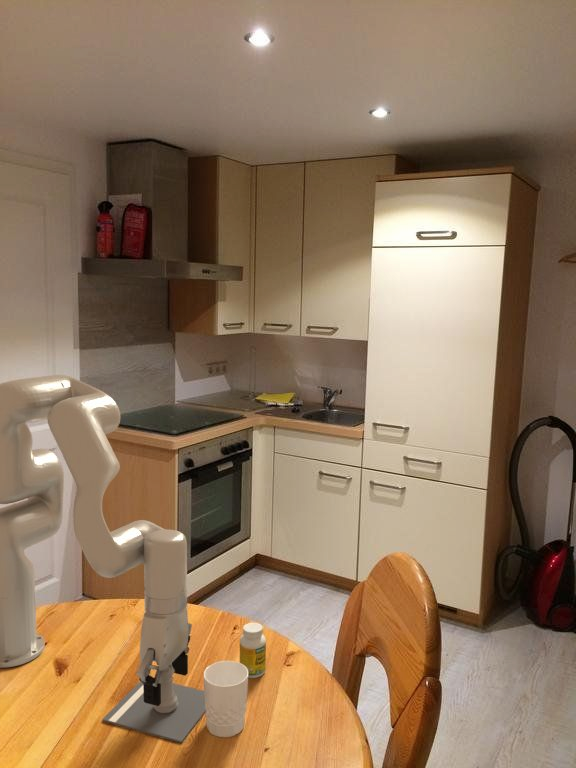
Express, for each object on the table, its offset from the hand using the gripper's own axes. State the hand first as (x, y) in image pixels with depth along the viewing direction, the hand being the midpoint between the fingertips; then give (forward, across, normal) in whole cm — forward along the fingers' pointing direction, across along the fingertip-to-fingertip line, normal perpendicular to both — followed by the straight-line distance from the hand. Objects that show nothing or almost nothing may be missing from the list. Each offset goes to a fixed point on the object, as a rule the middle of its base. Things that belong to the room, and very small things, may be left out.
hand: (166, 687), depth 118 cm
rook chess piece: (+4, 0, 0) cm, 4 cm away
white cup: (+4, 0, +12) cm, 13 cm away
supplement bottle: (+4, -17, +10) cm, 20 cm away
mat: (+4, 0, -1) cm, 4 cm away
